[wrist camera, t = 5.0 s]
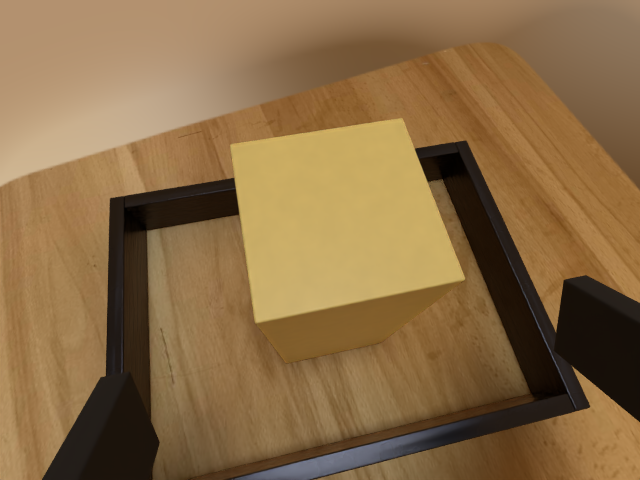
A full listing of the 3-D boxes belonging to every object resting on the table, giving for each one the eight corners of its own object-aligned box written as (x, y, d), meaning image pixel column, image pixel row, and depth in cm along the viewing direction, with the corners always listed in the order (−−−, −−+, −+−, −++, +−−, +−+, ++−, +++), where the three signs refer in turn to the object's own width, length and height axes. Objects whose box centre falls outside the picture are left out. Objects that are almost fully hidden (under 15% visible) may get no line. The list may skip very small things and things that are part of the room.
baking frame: (135, 511, 17) (101, 534, 14) (133, 221, 23) (109, 197, 20) (551, 405, 19) (592, 407, 16) (449, 167, 25) (466, 139, 22)
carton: (285, 363, 20) (254, 323, 9) (270, 270, 22) (229, 143, 11) (381, 342, 20) (466, 279, 9) (357, 254, 22) (402, 117, 11)
